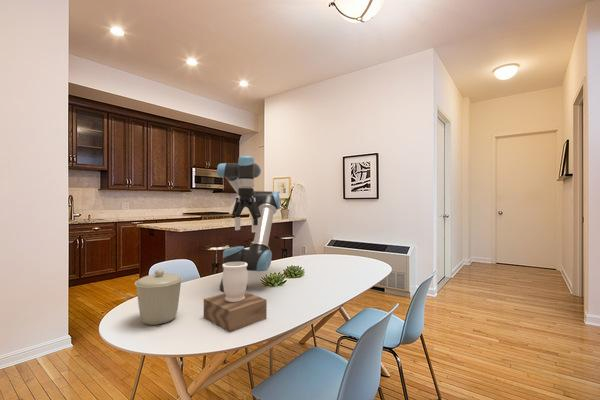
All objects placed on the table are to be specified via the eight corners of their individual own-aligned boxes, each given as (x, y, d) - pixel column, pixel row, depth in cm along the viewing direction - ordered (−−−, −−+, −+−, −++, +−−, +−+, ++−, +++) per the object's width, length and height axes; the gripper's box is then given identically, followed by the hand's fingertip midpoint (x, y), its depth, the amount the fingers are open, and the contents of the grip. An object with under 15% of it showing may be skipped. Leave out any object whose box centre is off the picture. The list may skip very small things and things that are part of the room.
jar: (234, 305, 118) (235, 267, 118) (216, 300, 124) (217, 264, 124) (252, 297, 127) (252, 263, 127) (235, 293, 133) (235, 260, 133)
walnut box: (203, 317, 126) (203, 298, 126) (238, 306, 139) (238, 289, 139) (230, 332, 112) (230, 311, 112) (266, 318, 125) (266, 299, 125)
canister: (174, 328, 115) (174, 274, 115) (125, 330, 113) (125, 275, 113) (187, 311, 133) (188, 264, 133) (146, 312, 131) (146, 264, 131)
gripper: (225, 188, 151) (225, 229, 151) (255, 187, 134) (255, 233, 134) (237, 188, 156) (237, 228, 156) (268, 187, 139) (268, 232, 139)
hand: (245, 231), depth 145 cm, fingers open, 13 cm apart
